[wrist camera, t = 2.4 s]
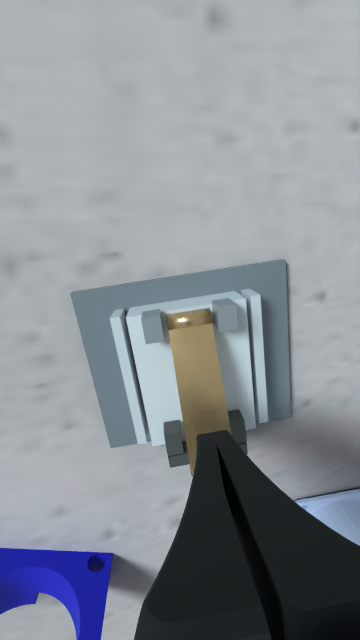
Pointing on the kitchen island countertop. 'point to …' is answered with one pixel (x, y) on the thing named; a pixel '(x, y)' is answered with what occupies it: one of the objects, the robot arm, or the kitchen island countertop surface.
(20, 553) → the blue half clamp bracket
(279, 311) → the heat-sink board
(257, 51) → the kitchen island countertop surface
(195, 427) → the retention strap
